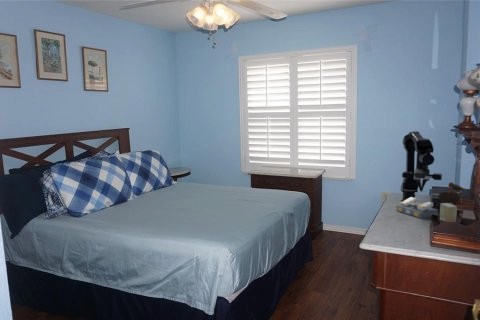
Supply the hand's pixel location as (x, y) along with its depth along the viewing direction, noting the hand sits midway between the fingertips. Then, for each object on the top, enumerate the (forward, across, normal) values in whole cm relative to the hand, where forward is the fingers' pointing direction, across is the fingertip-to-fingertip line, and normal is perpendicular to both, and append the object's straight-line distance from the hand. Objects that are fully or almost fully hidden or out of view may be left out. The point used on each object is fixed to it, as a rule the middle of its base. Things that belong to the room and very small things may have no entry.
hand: (421, 191), depth 194 cm
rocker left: (+7, -7, +2) cm, 10 cm away
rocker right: (+7, +3, -4) cm, 8 cm away
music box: (+12, +14, -9) cm, 20 cm away
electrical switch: (+12, +8, +12) cm, 19 cm away
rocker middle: (+7, -2, 0) cm, 7 cm away
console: (+12, -2, 0) cm, 12 cm away
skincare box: (+13, +15, -24) cm, 31 cm away
